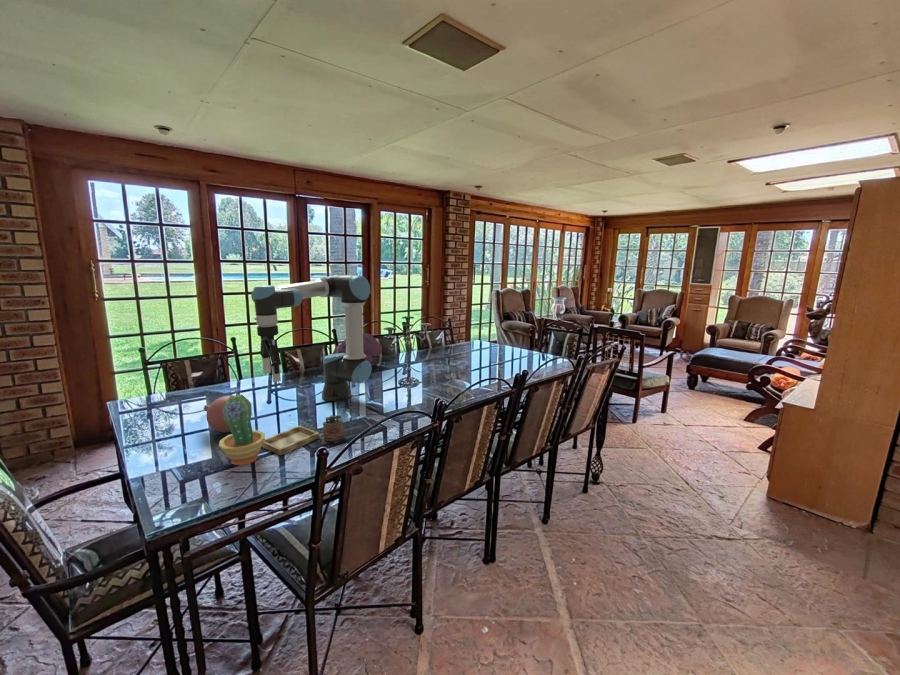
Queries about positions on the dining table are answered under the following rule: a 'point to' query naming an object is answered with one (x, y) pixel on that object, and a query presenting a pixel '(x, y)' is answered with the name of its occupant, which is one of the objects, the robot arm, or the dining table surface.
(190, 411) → the dining table surface
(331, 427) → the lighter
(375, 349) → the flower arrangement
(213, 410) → the brown rounded piece
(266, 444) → the tray
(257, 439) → the potted cactus
